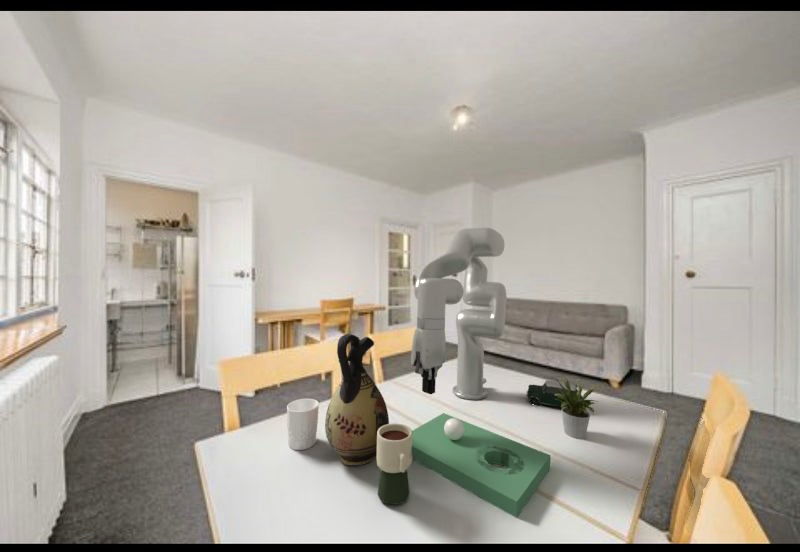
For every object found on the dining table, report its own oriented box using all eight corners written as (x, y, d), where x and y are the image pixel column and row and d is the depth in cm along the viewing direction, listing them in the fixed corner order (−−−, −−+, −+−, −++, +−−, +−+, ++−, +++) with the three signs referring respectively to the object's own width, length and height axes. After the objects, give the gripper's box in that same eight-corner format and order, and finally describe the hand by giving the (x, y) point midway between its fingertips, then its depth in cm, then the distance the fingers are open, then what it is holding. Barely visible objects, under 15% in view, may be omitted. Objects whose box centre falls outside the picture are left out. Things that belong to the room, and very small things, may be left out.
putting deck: (397, 450, 76) (398, 438, 76) (443, 422, 91) (443, 413, 91) (516, 517, 56) (516, 501, 56) (550, 468, 71) (550, 455, 71)
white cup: (309, 431, 84) (309, 396, 84) (323, 443, 79) (324, 405, 79) (281, 442, 79) (281, 404, 79) (294, 455, 73) (295, 414, 73)
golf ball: (450, 431, 80) (451, 412, 80) (467, 438, 77) (468, 419, 77) (440, 438, 77) (440, 419, 77) (457, 446, 73) (457, 426, 73)
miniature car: (527, 395, 114) (527, 374, 114) (583, 405, 106) (583, 383, 106) (525, 404, 106) (525, 381, 106) (585, 416, 98) (585, 391, 98)
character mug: (420, 512, 57) (422, 443, 57) (384, 522, 54) (385, 450, 54) (400, 475, 67) (402, 416, 67) (369, 482, 65) (370, 421, 64)
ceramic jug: (350, 431, 85) (352, 325, 85) (398, 447, 78) (401, 330, 77) (305, 465, 70) (307, 335, 69) (360, 488, 63) (363, 344, 62)
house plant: (535, 432, 87) (536, 375, 86) (550, 416, 97) (551, 365, 97) (593, 453, 77) (595, 389, 77) (603, 433, 87) (605, 376, 87)
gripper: (435, 320, 90) (433, 382, 90) (401, 324, 79) (399, 395, 79) (457, 323, 85) (455, 389, 85) (424, 328, 74) (422, 404, 74)
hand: (428, 392), depth 82 cm, fingers closed
